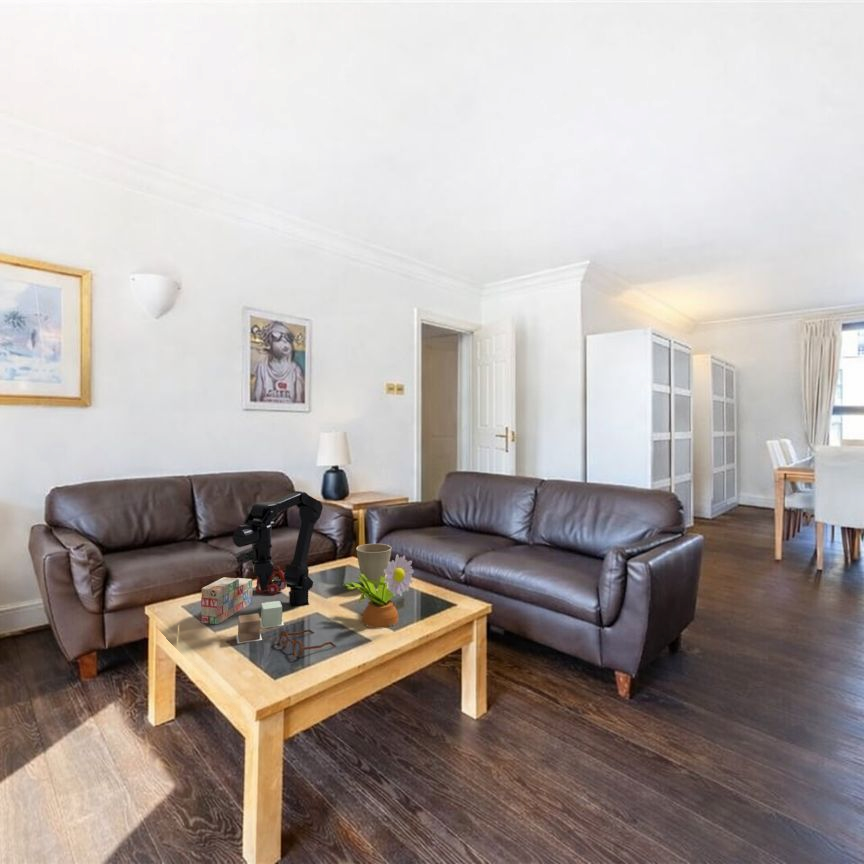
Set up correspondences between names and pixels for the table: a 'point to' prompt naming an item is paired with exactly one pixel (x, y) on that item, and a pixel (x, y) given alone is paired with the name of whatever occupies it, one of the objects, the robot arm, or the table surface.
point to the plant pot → (373, 560)
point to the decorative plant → (384, 593)
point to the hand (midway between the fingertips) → (261, 586)
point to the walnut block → (248, 627)
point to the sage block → (271, 613)
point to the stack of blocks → (224, 599)
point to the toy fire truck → (273, 582)
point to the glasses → (300, 642)
